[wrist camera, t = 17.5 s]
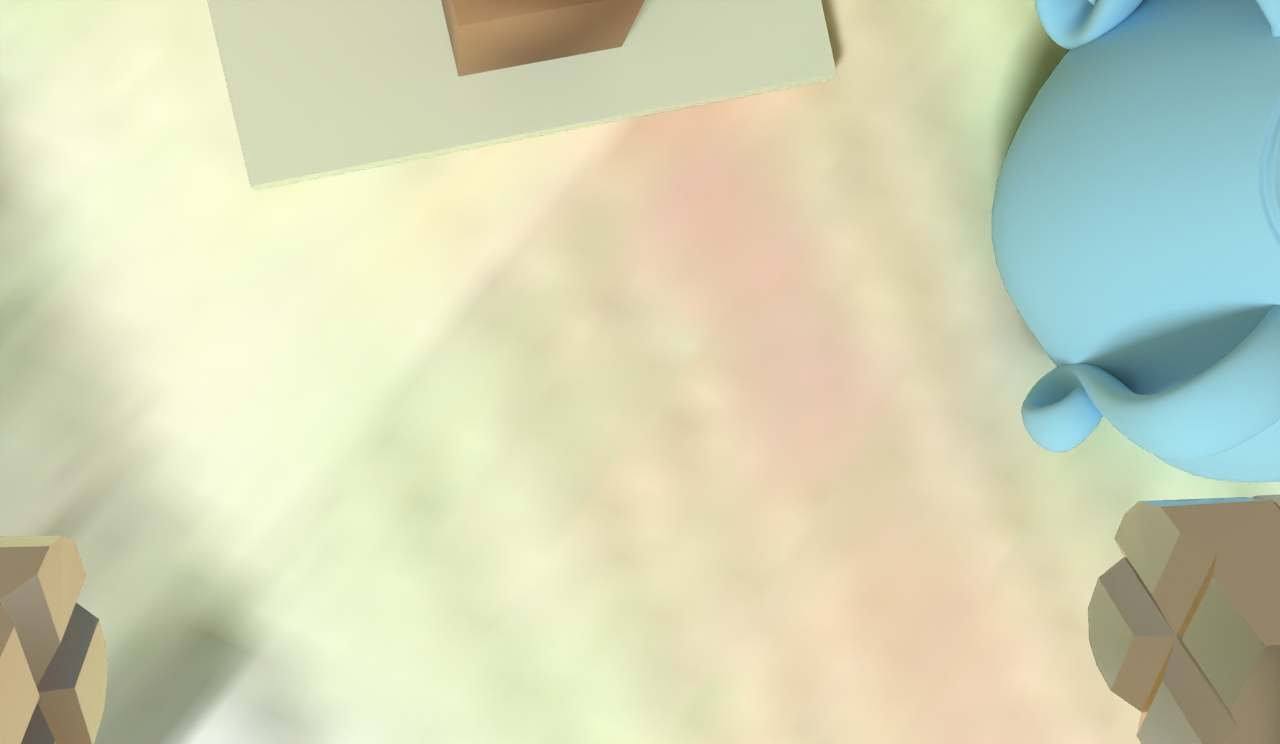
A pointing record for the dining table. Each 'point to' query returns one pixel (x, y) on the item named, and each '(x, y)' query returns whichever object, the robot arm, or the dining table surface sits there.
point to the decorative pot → (1153, 231)
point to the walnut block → (533, 30)
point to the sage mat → (480, 77)
